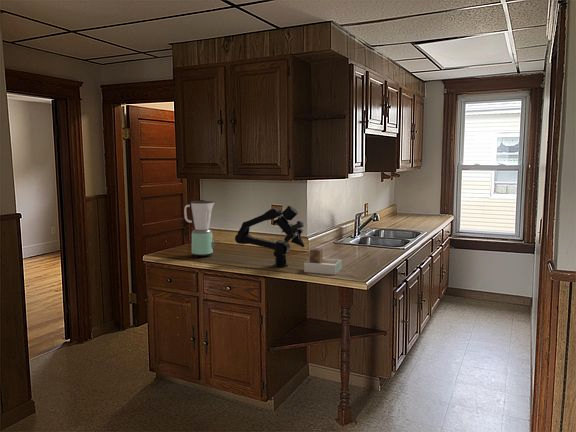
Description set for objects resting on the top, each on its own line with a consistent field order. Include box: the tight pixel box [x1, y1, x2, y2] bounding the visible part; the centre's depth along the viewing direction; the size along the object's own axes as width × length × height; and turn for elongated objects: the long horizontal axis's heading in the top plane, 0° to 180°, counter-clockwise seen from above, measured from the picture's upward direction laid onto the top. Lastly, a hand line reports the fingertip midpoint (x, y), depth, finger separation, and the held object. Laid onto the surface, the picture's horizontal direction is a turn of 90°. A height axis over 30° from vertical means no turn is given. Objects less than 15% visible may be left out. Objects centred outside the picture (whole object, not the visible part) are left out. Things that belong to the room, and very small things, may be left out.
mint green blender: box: [183, 199, 216, 258], centre depth 302 cm, size 19×13×35 cm
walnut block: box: [308, 247, 324, 264], centre depth 270 cm, size 6×6×8 cm
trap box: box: [303, 257, 342, 275], centre depth 266 cm, size 17×15×5 cm
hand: (303, 246), depth 271 cm, fingers closed
